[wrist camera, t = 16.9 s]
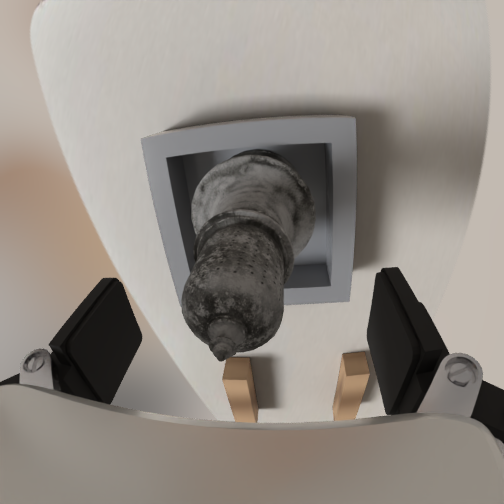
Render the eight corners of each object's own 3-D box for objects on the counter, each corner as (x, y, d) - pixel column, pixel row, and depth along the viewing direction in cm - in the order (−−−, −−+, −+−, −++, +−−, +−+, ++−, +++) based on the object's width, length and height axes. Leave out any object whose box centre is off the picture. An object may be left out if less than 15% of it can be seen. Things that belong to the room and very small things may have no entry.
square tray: (341, 273, 20) (349, 301, 17) (192, 279, 21) (180, 306, 18) (342, 114, 15) (355, 117, 12) (162, 131, 16) (140, 138, 13)
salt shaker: (275, 124, 15) (266, 178, 4) (326, 212, 17) (381, 385, 6) (188, 178, 17) (63, 309, 6) (242, 255, 19) (202, 432, 8)
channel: (350, 404, 27) (353, 423, 25) (240, 408, 29) (237, 427, 27) (364, 351, 23) (369, 373, 21) (226, 357, 25) (222, 379, 23)
